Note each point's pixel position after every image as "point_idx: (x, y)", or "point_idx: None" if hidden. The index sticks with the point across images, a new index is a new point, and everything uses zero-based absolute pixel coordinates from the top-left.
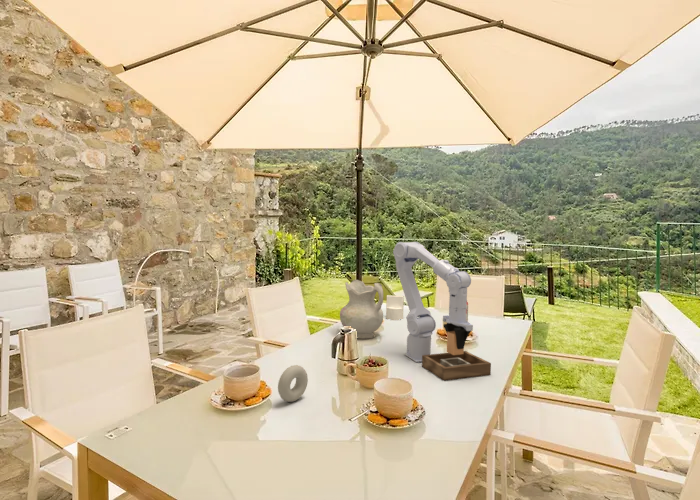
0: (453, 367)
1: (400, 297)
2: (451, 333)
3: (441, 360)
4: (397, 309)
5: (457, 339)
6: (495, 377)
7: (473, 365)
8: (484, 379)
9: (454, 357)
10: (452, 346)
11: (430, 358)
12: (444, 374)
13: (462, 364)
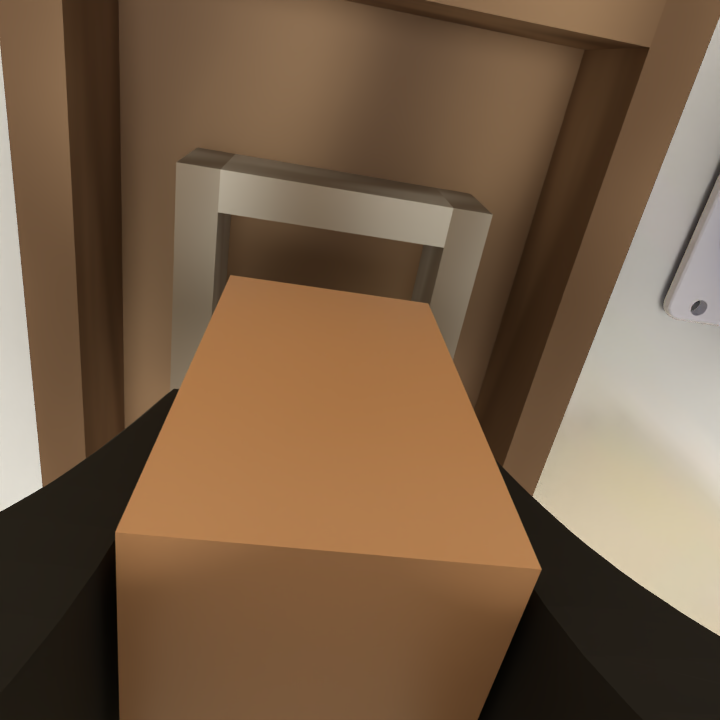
0: (7, 47)
1: None
2: (289, 548)
3: (455, 207)
4: None
5: (79, 484)
6: (32, 487)
7: (33, 380)
8: (8, 375)
9: None
10: (251, 340)
11: (533, 10)
12: None
13: (201, 337)
